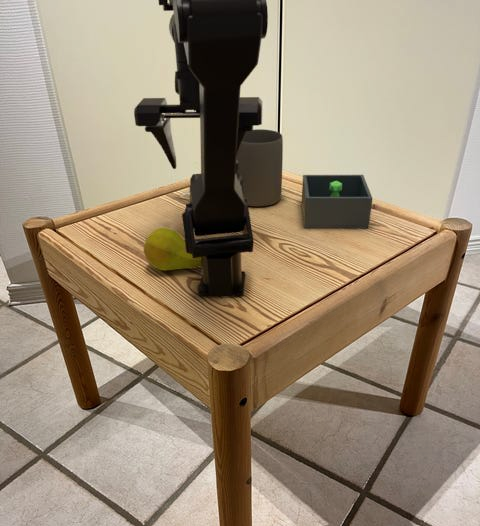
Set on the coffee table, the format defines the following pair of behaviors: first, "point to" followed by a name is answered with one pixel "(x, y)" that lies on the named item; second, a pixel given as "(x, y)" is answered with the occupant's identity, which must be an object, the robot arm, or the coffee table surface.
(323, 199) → the bin
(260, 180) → the mug
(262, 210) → the coffee table surface
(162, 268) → the fruit
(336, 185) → the game piece
